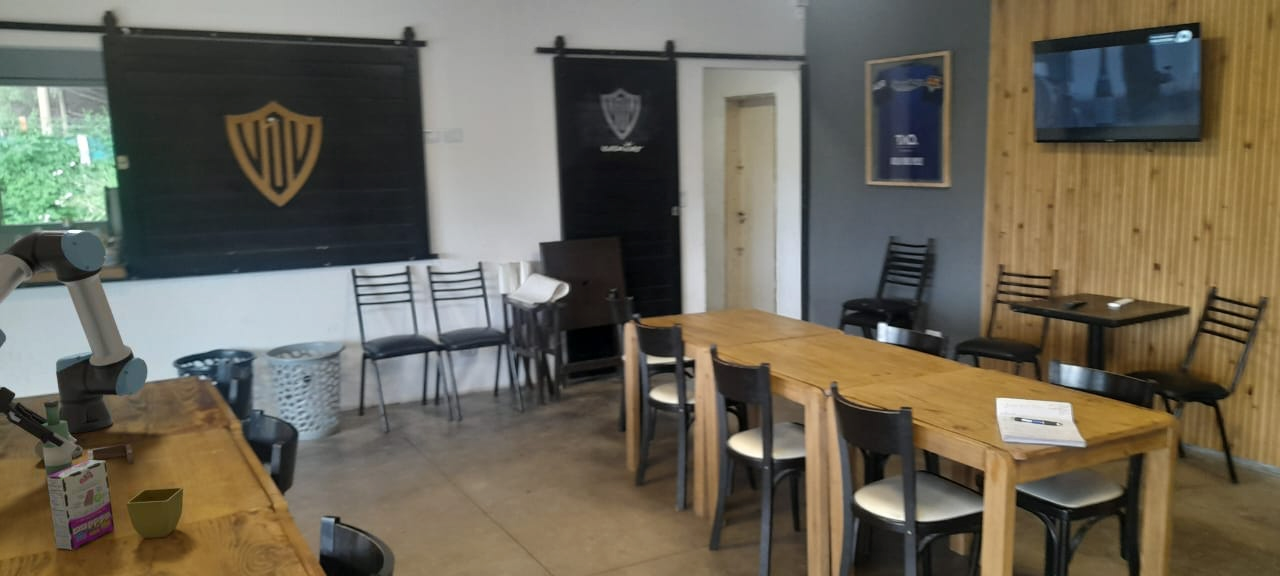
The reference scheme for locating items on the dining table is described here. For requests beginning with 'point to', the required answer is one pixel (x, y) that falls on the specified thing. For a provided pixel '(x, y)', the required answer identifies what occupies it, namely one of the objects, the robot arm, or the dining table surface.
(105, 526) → the candy bar box
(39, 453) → the ceramic mug
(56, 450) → the bottle
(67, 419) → the robot arm
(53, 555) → the dining table surface
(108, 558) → the dining table surface
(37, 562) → the dining table surface
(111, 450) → the u rest
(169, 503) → the flower pot
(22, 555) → the dining table surface
